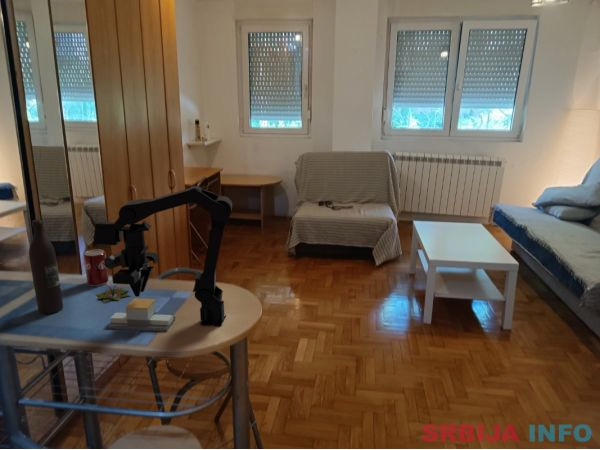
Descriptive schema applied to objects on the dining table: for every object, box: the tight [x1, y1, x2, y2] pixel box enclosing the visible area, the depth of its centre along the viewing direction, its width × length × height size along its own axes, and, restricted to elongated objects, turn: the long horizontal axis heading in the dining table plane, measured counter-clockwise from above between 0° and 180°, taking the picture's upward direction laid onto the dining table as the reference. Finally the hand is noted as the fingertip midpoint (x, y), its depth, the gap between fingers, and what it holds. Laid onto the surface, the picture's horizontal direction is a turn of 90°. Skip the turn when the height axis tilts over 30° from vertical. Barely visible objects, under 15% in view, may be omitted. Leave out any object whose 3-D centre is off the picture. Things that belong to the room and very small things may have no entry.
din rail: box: [107, 312, 176, 332], centre depth 132 cm, size 18×7×2 cm, turn 86°
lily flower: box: [95, 283, 131, 304], centre depth 151 cm, size 12×12×5 cm
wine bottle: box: [28, 219, 64, 315], centre depth 136 cm, size 7×7×30 cm
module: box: [125, 297, 157, 326], centre depth 132 cm, size 6×6×6 cm
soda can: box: [83, 249, 110, 287], centre depth 160 cm, size 7×7×12 cm
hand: (139, 294), depth 130 cm, fingers open, 3 cm apart
